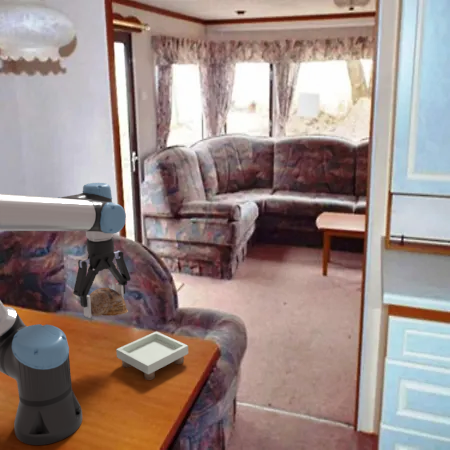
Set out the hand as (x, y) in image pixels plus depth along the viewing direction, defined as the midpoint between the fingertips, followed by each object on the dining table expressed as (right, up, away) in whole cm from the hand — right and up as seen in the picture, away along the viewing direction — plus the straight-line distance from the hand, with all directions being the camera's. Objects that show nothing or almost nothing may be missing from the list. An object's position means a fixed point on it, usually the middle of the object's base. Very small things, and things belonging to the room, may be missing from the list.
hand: (104, 310), depth 147 cm
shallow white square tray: (+14, -15, -1) cm, 21 cm away
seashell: (+1, -1, 0) cm, 1 cm away
